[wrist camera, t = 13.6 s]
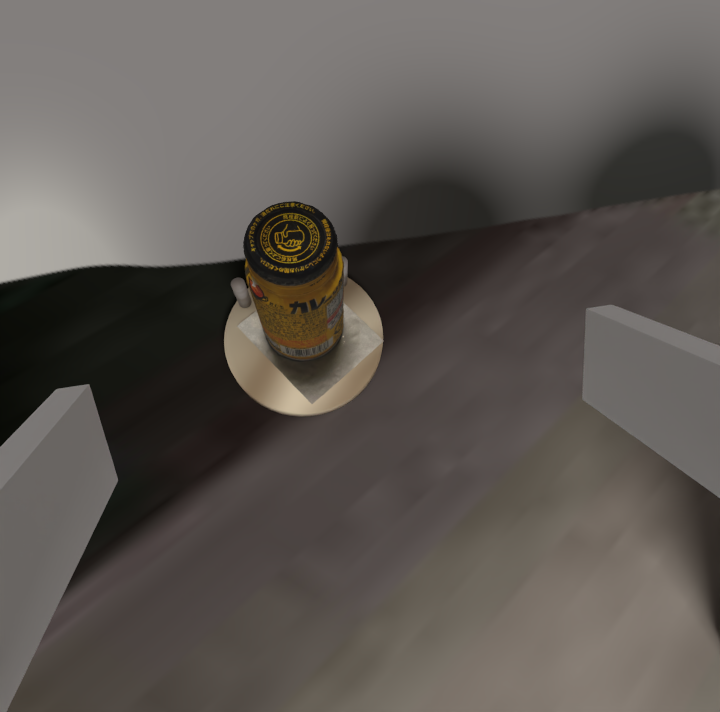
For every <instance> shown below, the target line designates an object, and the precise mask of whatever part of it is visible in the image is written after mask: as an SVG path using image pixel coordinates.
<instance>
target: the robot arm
mask: <svg viewBox="0 0 720 712" xmlns="http://www.w3.org/2000/svg"><path fill="white" fill-rule="evenodd" d="M582 399H583V400H584V401H585V402H587V403H588V404H589V405H591V406H592V407H594V408H595V409H596V410H598V411H599V412H601V413H602V414H603V415H605V416H606V417H608V418H609V419H610V420H612V421H613V422H614V423H616V424H617V425H619V426H620V427H621V428H623V429H624V430H626V431H627V432H628V433H630V434H631V435H633V436H634V437H635V438H637V439H638V440H640V441H641V442H642V443H644V444H645V445H646V446H648V447H649V448H651V449H652V450H653V451H655V452H656V453H658V454H659V455H660V456H662V457H663V458H665V459H666V460H667V461H669V462H670V463H672V464H673V465H674V466H676V467H677V468H678V469H680V470H681V471H683V472H684V473H685V474H687V475H688V476H690V477H691V478H692V479H694V480H695V481H697V482H698V483H699V484H701V485H702V486H704V487H705V488H706V489H708V490H709V491H710V492H712V493H713V494H715V495H716V496H717V497H719V498H720V346H719V345H716V344H714V343H711V342H708V341H706V340H703V339H701V338H698V337H695V336H693V335H690V334H688V333H685V332H682V331H680V330H677V329H674V328H672V327H669V326H667V325H664V324H661V323H659V322H656V321H654V320H651V319H648V318H646V317H643V316H640V315H638V314H635V313H633V312H630V311H627V310H625V309H622V308H620V307H617V306H614V305H606V306H599V307H593V308H586V325H585V349H584V373H583V397H582ZM117 481H118V478H117V475H116V472H115V468H114V465H113V462H112V458H111V455H110V452H109V448H108V445H107V442H106V438H105V435H104V432H103V428H102V425H101V422H100V419H99V415H98V412H97V409H96V405H95V402H94V399H93V395H92V392H91V389H90V385H89V384H87V385H81V386H74V387H68V388H61V389H56V390H55V391H54V392H53V393H52V394H51V395H50V396H49V397H48V398H47V399H46V401H45V402H44V403H43V404H42V405H41V406H40V407H39V408H38V409H37V410H36V411H35V412H34V413H33V414H32V415H31V416H30V417H29V418H28V419H27V420H26V421H25V422H24V423H23V424H22V425H21V426H20V427H19V428H18V429H17V430H16V431H15V432H14V434H13V435H12V436H11V437H10V438H9V439H8V440H7V441H6V442H5V443H4V444H3V445H2V446H1V447H0V712H7V709H8V707H9V705H10V703H11V701H12V699H13V697H14V695H15V693H16V691H17V689H18V687H19V685H20V683H21V680H22V678H23V676H24V674H25V672H26V670H27V668H28V666H29V664H30V662H31V660H32V658H33V656H34V654H35V651H36V649H37V647H38V645H39V643H40V641H41V639H42V637H43V635H44V633H45V631H46V629H47V627H48V624H49V622H50V620H51V618H52V616H53V614H54V612H55V610H56V608H57V606H58V604H59V602H60V600H61V598H62V595H63V593H64V591H65V589H66V587H67V585H68V583H69V581H70V579H71V577H72V575H73V573H74V571H75V569H76V566H77V564H78V562H79V560H80V558H81V556H82V554H83V552H84V550H85V548H86V546H87V544H88V542H89V540H90V537H91V535H92V533H93V531H94V529H95V527H96V525H97V523H98V521H99V519H100V517H101V515H102V513H103V511H104V508H105V506H106V504H107V502H108V500H109V498H110V496H111V494H112V492H113V490H114V488H115V486H116V484H117Z"/></svg>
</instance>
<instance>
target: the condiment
mask: <svg viewBox="0 0 720 712" xmlns="http://www.w3.org/2000/svg"><path fill="white" fill-rule="evenodd" d="M244 254H245V257H246V263H245V274H246V279H247V284H248V286H249V289H250V292H251V295H252V298H253V301H254V304H255V307H256V310H257V311H255V312H254V313H253V314H251V315H250V316H249V317H248V318H246V319H245V320H244V321H242V322H241V323H240V324H239V325H238V326H237V327H238V328H239V329H240V330H241V331H242V332H243V333H244V334H245V335H246V336H247V337H248V338H249V339H250V341H251V342H252V343H253V344H254V345H255V346H256V347H257V348H258V349H259V350H260V351H261V352H262V353H263V354H264V355H265V356H266V357H267V358H268V359H269V360H270V361H271V362H272V363H273V364H274V366H275V367H276V368H277V369H278V370H279V371H280V372H281V373H282V374H283V375H284V376H285V377H286V378H287V379H288V380H289V381H290V382H291V383H292V384H293V386H294V387H296V388H297V389H298V390H299V391H300V392H301V393H302V394H303V396H304V397H305V398H306V399H307V400H308V401H309V402H310V403H311V404H313V403H314V402H315V401H316V400H318V399H319V398H320V397H321V396H323V395H324V394H325V393H326V392H327V391H328V390H329V389H330V388H332V387H333V386H334V385H335V384H336V383H337V382H339V381H340V380H341V379H342V378H343V377H344V376H345V375H346V374H347V373H349V372H350V371H351V370H352V369H353V368H355V367H356V366H357V365H358V364H359V363H360V362H361V361H362V360H363V359H364V358H365V357H366V356H368V355H369V354H370V353H371V352H372V351H373V350H374V349H375V348H376V347H377V346H379V345H380V344H381V343H382V342H383V340H382V339H381V338H380V337H379V336H378V335H377V334H376V333H375V332H374V331H373V330H372V329H371V328H370V327H369V326H368V325H367V324H366V323H365V322H364V321H362V320H361V319H360V318H359V317H358V316H357V314H355V313H354V312H353V311H352V310H351V309H350V308H349V307H348V306H347V305H346V304H344V303H343V299H344V294H343V293H344V262H343V259H342V256H341V252H340V251H339V249H338V243H337V235H336V233H335V230H334V227H333V225H332V223H331V222H330V221H329V219H328V218H326V216H325V215H324V214H323V213H322V212H320V211H319V210H318V209H316V208H315V207H313V206H310V205H305V204H303V203H300V202H283V203H278V204H275V205H272V206H270V207H268V208H266V209H265V210H264V211H262V212H261V213H259V214H258V215H256V216H255V217H254V218H253V220H252V221H251V223H250V224H249V226H248V228H247V231H246V234H245V237H244ZM343 336H344V337H343ZM344 341H345V342H344Z"/></svg>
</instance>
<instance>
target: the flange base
mask: <svg viewBox="0 0 720 712" xmlns="http://www.w3.org/2000/svg"><path fill="white" fill-rule="evenodd" d="M342 259H343V262H344V293H343V294H344V299H343V303H344V304H346V305H347V306H348V307H349V308H350V309H351V310H352V311H353V312H354V313H355V314H357V316H358V317H359V318H360V319H361V320H362V321H364V322H365V323H366V324H367V325H368V326H369V327H370V328H371V329H372V330H373V331H374V332H375V333H376V334H377V335H378V336H379V337H380V338H381V339H382V340H383V330H382V324H381V319H380V316H379V314H378V311H377V309H376V307H375V305H374V303H373V301H372V300H371V299H370V297H369V296H368V294H367V293H366V292H365V291H364V290H363V289H362V288H361V287H360V286H359V285H358V284H356V283H355V282H354V281H352V280H351V279H349V278H348V277H347V267H348V261H347V259H346V258H345V257H343V256H342ZM231 287H232V289H233V291H234V294H235V296H236V299H237V302H236V303H235V305H234V306H233V308H232V311H231V313H230V315H229V317H228V320H227V324H226V328H225V334H224V347H225V354H226V358H227V362H228V365H229V367H230V370H231V372H232V374H233V375H234V377H235V378H236V380H237V382H238V383H239V385H240V386H241V388H242V389H243V390H244V391H245V392H246V393H247V394H248V395H249V396H250V397H251V398H252V399H253V400H254V401H256V402H257V403H259V404H260V405H262V406H264V407H266V408H267V409H269V410H272V411H275V412H277V413H280V414H285V415H289V416H300V417H305V416H316V415H321V414H325V413H328V412H332V411H334V410H336V409H338V408H341V407H343V406H344V405H346V404H348V403H349V402H351V401H352V400H353V399H354V398H356V397H357V396H358V395H359V394H360V393H361V392H362V391H363V390H364V389H365V388H366V387H367V385H368V384H369V382H370V381H371V380H372V378H373V376H374V374H375V372H376V370H377V367H378V364H379V361H380V357H381V352H382V346H383V342H382V343H381V344H380V345H379V346H377V347H376V348H375V349H374V350H373V351H372V352H371V353H370V354H369V355H368V356H366V357H365V358H364V359H363V360H362V361H361V362H360V363H359V364H358V365H357V366H356V367H355V368H353V369H352V370H351V371H350V372H349V373H347V374H346V375H345V376H344V377H343V378H342V379H341V380H340V381H339V382H337V383H336V384H335V385H334V386H333V387H332V388H330V389H329V390H328V391H327V392H326V393H325V394H324V395H323V396H321V397H320V398H319V399H318V400H316V401H315V402H314V403H313V404H311V403H310V402H309V401H308V400H307V399H306V398H305V397H304V396H303V394H302V393H301V392H300V391H299V390H298V389H297V388H296V387H294V386H293V384H292V383H291V382H290V381H289V380H288V379H287V378H286V377H285V376H284V375H283V374H282V373H281V372H280V371H279V370H278V369H277V368H276V367H275V366H274V364H273V363H272V362H271V361H270V360H269V359H268V358H267V357H266V356H265V355H264V354H263V353H262V352H261V351H260V350H259V349H258V348H257V347H256V346H255V345H254V344H253V343H252V342H251V341H250V339H249V338H248V337H247V336H246V335H245V334H244V333H243V332H242V331H241V330H240V329H239V328H238V327H237V326H238V325H239V324H240V323H241V322H242V321H244V320H245V319H246V318H248V317H249V316H250V315H251V314H253V313H254V312H255V311H257V310H256V307H255V304H254V301H253V298H252V295H251V292H250V289H249V288H248V289H247V287H246V284H245V281H244V280H243V279H242V278H235V279H233V280H232V282H231ZM343 337H344V336H343ZM344 342H345V341H344Z"/></svg>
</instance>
